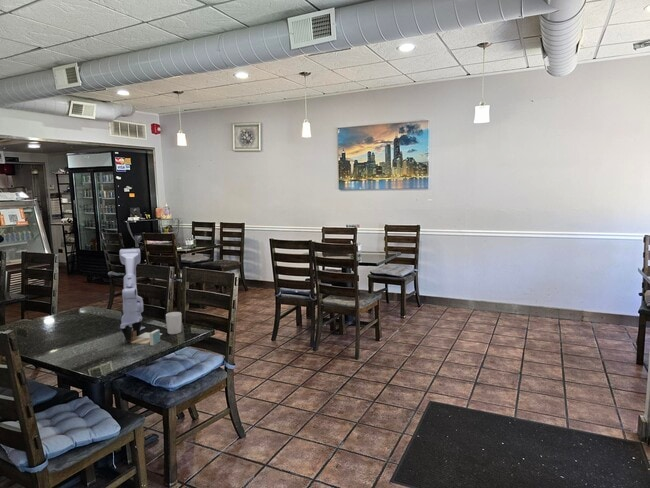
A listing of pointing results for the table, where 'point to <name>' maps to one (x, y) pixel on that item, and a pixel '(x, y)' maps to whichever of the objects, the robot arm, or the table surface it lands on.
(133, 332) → the turner
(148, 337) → the felt mat
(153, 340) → the tile
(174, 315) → the white cup
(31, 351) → the table surface
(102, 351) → the table surface
